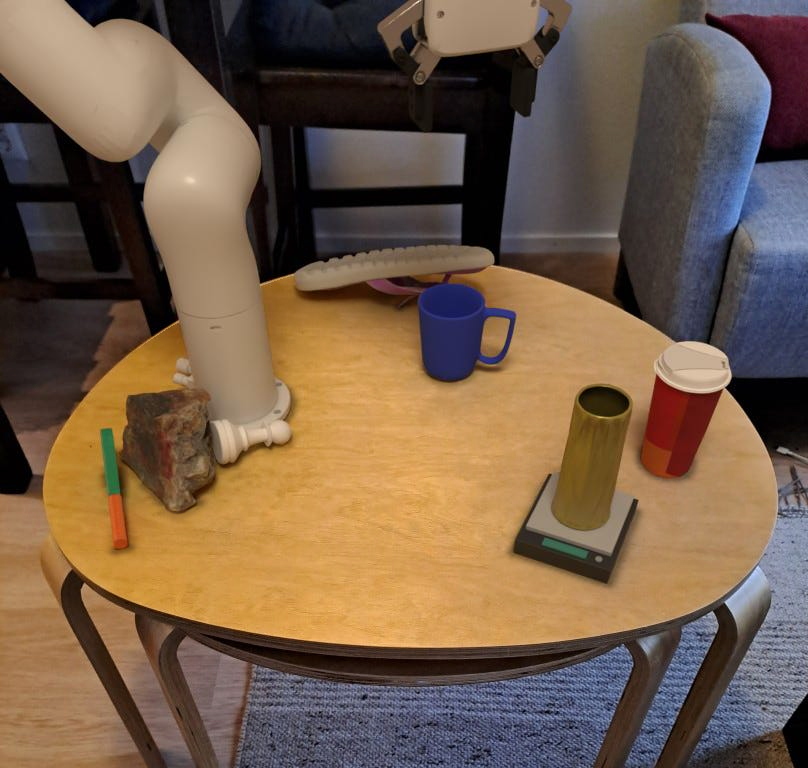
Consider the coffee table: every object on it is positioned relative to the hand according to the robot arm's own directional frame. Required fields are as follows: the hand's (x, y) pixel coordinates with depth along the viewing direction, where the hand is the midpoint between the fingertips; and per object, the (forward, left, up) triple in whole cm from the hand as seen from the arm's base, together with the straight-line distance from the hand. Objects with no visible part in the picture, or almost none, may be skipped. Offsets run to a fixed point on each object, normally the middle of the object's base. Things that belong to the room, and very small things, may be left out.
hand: (471, 119), depth 74 cm
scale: (+19, -13, -34) cm, 41 cm away
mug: (-3, +9, -34) cm, 36 cm away
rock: (-22, -21, -34) cm, 46 cm away
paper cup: (+25, +2, -34) cm, 43 cm away
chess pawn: (-22, -19, -32) cm, 43 cm away
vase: (+19, -12, -32) cm, 39 cm away
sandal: (-19, +21, -28) cm, 40 cm away
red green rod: (-27, -29, -32) cm, 51 cm away
